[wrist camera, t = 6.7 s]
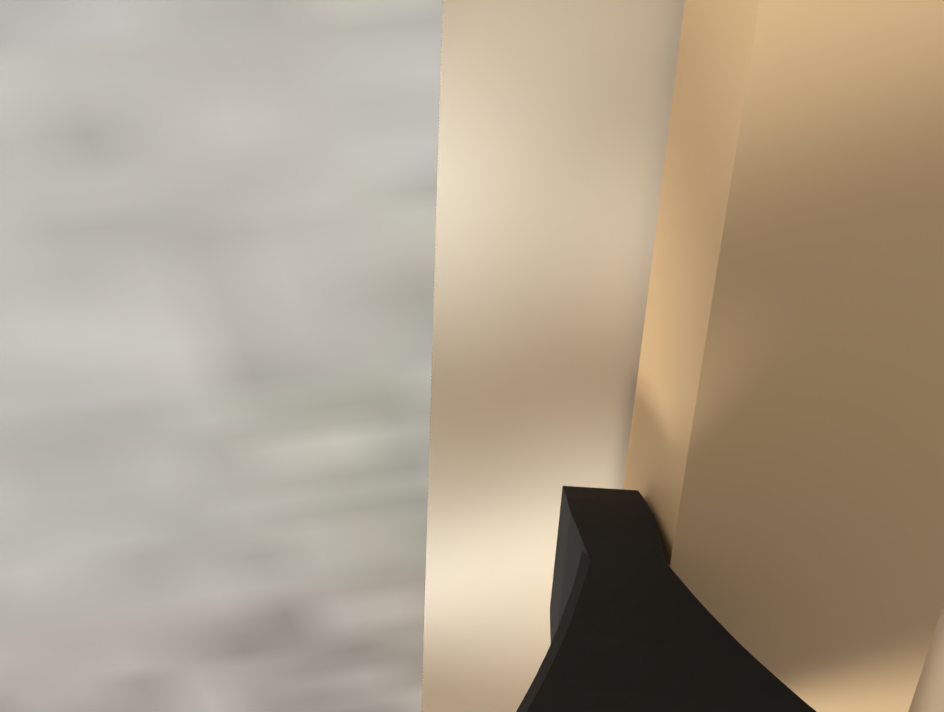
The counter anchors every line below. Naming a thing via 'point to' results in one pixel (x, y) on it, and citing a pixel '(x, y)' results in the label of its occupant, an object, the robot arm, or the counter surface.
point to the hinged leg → (803, 339)
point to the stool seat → (539, 314)
